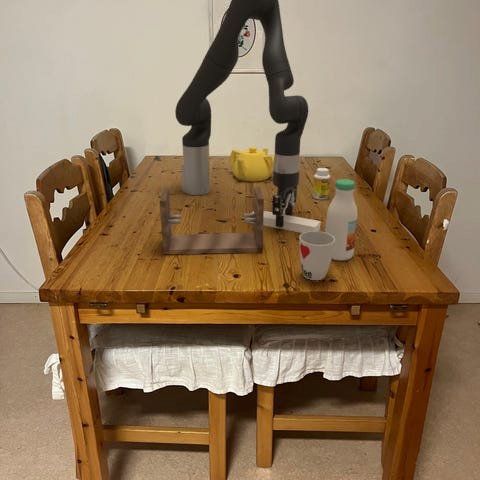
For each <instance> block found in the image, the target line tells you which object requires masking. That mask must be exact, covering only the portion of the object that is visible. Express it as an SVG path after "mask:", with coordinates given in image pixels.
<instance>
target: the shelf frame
mask: <svg viewBox="0 0 480 480" xmlns="http://www.w3.org/2000/svg"><path fill="white" fill-rule="evenodd" d="M253 190H254V191H253V211H254V213H252V212H250V213H249V212H248V213H243V218H244V223H249V222H254V223H253V232H223V233H222V232H219V233H218V232H217V233H216V232H215V233H180V234H179V233H178V234H175V233H174V234H172V232H173V231H172V225H180V224H181V220H182V215H181V214H171V205H170V204H171V201H170V200H171V199H170V188H169V187H167V188H165V187H163V188H162V191H161V194H160V198H159V210H160V213H159V214H160V224H161V238H162V251H163V252H162V253H163V255H164V254H189V255H203V254H202V253H219V255H220V253H228V254H255V253H256V254H259V253H258V252H263V251H264V250H263V249H264V225H263V214H264V211H265V210H264V205H265V198H264V195H263V192H262V189H261V187H260V186H254V189H253ZM263 253H264V252H263Z"/></svg>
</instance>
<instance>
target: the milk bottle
mask: <svg viewBox="0 0 480 480" xmlns="http://www.w3.org/2000/svg"><path fill="white" fill-rule="evenodd" d="M355 187H356V183H355V181H354V180H352V179H346V178H342V179H337V180H336V182H335V193H334V196H333V198H332V200H331V202H330V204H329V206H328V209H327V212H326V218H325V231H324V232H325V233H328V234H330V235H332V236H333V237H334V238H335V242H334V248H333V254H332V259H331V260H334V261H347V260H350V259H352V258H353V256H354V252H355V243H356V237H357V225H358V217H359V216H358V208H357V207H358V206H357V204H356V202H355V199H354V191H355Z"/></svg>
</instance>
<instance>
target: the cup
mask: <svg viewBox="0 0 480 480" xmlns="http://www.w3.org/2000/svg"><path fill="white" fill-rule="evenodd" d="M298 240H299V241H298V243H299V244H298V245H299V250H298V251H299V253H298V254H299V263H300V268H301V272H302V276H303V278H304V277H305V278H307V279H310V280H321V279H323V278H324V279H325V277H326V276H327V273H328V270H329V268H330V265H331V261H332V260H333V259H332V254H333V248H334V242H335V238H334V237H333V236H332V235H330V234H328V233H325V231H320V230H319V231H309V232H305V233H300V235H299V239H298ZM305 278H304V279H305ZM307 279H306V280H307ZM324 279H323V280H324ZM310 280H309V281H310ZM321 281H322V280H321Z"/></svg>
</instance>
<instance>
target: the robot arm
mask: <svg viewBox="0 0 480 480" xmlns="http://www.w3.org/2000/svg"><path fill="white" fill-rule="evenodd" d="M281 16H282V15H281V9H280V3H279V0H231V1H230V4H229V6H228V9H227V11H226V13H225V16H224V18H223V21H222V23H221V24H220V27H219V29H218V31H217V33H216V35H215V37H214V39H213V41H212V42H211V45H209V48H208V49H207V52H206V54H205V55H204V57H203V59H202V62H201V64H200V66H199V67H198V69H197V71H196V73H194V76H193V78H192V80H191V82H190V83H189V84H188V87H186V90H185V91H184V92H183V93H182V95H181V96H180V98H179V100H178V101H177V103H176V107H175V111H174V112H175V118H176V119H175V120H177V122H178V123H179V124H180V125H181V126H184V127H190V129H189V130H188V131H187V133H185V134H184V135H183V136H182V144H181V145H182V159H183V161H182V162H183V165H182V166H181V167H180V169H181V171H180V172H181V185H182V186H181V188H182V189H181V190H182V193H185V194H187V195H191V196H203V195H206V194H210V192H211V175H210V174H211V173H210V165H211V164H210V138H211V135H212V134H211V133H212V108H211V104H210V101H209V100H208V99H207V98H208V96H209V95H210V94H212V93H213V92H214V91H216V90H217V89H218V88H219V87H220V86H222V85H223V83H225V82H226V81H227V79H228V78H229V77H230V75H231V73H232V72H233V70H234V69H235V67H236V65H237V64H238V61H239V57H240V55H239V50H240V48H239V37H240V34H241V31H242V30H243V28H244V26H245V24H246V23H247V21H248V20H249V19H250V20H255V21H259V23H260V25H261V27H262V28H263V31H264V32H263V33H264V46H263V51H262V56H261V57H262V58H261V60H262V61H261V62H262V67H263V68H262V69H263V73H264V75H265V78H266V79H265V80H266V82H267V86H268V111H269V115H270V117H271V119H272V120H273V122H274V123H276V124H280V125H283V124H287V125H286V127H285V128H284V129H283V130H280V131H278V132H277V133H276V134H275V138H274V139H275V140H274V162H273V173H272V184H273V186H275V187H276V188H277V192H276V194H273V195H272V210H271V212H272V214H273V215H276V227H280V228H282V227H283V224H284V215H289V216H293V211H294V207H295V204H296V203H297V197H298V196H297V195H298V194H297V193H298V186H299V185H300V172H301V171H300V169H301V159H300V158H301V156H300V153H301V140H302V139H301V138H302V136H303V134H304V129H305V126H306V122H307V120H308V116H309V105H308V101H307V100H306V98H305V97H304V96H303V95H298V94H297V95H296V94H295V95H288V96H286V95H285V91H287V90H288V89H290V88H292V86H294V82H295V81H294V75H293V72H292V68H291V65H290V62H289V58H288V54H287V51H286V46H285V41H284V39H285V38H284V34H283V33H284V32H283V24H282V18H281ZM280 228H279V229H280Z"/></svg>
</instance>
